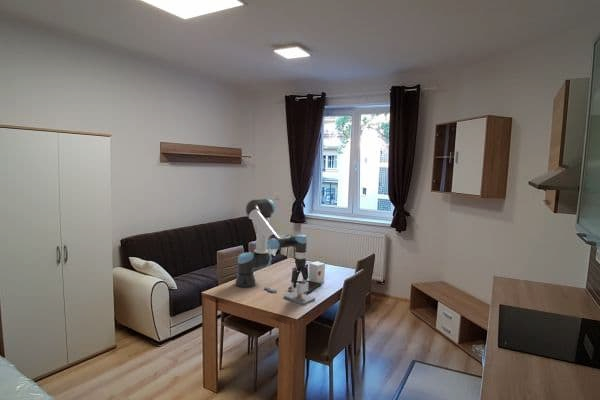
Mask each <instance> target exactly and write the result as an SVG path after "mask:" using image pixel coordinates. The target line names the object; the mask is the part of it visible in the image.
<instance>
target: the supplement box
mask: <svg viewBox="0 0 600 400" xmlns="http://www.w3.org/2000/svg"><path fill="white" fill-rule="evenodd" d="M325 268H326V264H325V263H324V262H320V261H318V260H317V261H313V262H309V264H308V281H313V282H318V283H321V284H322V283H324V282H325V274H326V272H325Z"/></svg>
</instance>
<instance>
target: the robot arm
mask: <svg viewBox="0 0 600 400" xmlns="http://www.w3.org/2000/svg"><path fill="white" fill-rule="evenodd" d="M275 207H276V206H275V203H274V202H273V200H272V199H269V198H260V199H251V200H250V201H248V202H247V203H246V205H245V213H246V216H247V217H248V218H249V220H252V221H253V223H254V224H255V226H256V239H255V240H256V242H255V243H256V244H255V249H254V250H253V252H250V251H249V252H243V253H240V254H239V255H238V257H237V276H236V279H235V283H234V284H235V286H236V287H237V288H251V287H254V286H256V283H257V281H256V279H255V275H254V270H257V269H263V268H264V269H265V268H266V267H269V266H270V265H271V263H272V254H271V252H269V250H279V249H284V248H295V249H294V264H295V267H292V268H291V269H292V273H291V280H290V282H291V283H292V282H293V287H294V292H296V293H297V287H298V283H297V280H299V276H300V274H301V276H302V279H301V280H303V281H306V280H308V281H309V264H307V245H308V244H307V243H308V241H307V240H308V239H307V235H305V234H296V235H292V234H285V235H284V236H279V235H278V234H277V232H276V231H275V230H274V229H273V227H272V226H271V224H270V219H271V218H272V214H274V213H275V210H276V208H275Z"/></svg>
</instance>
